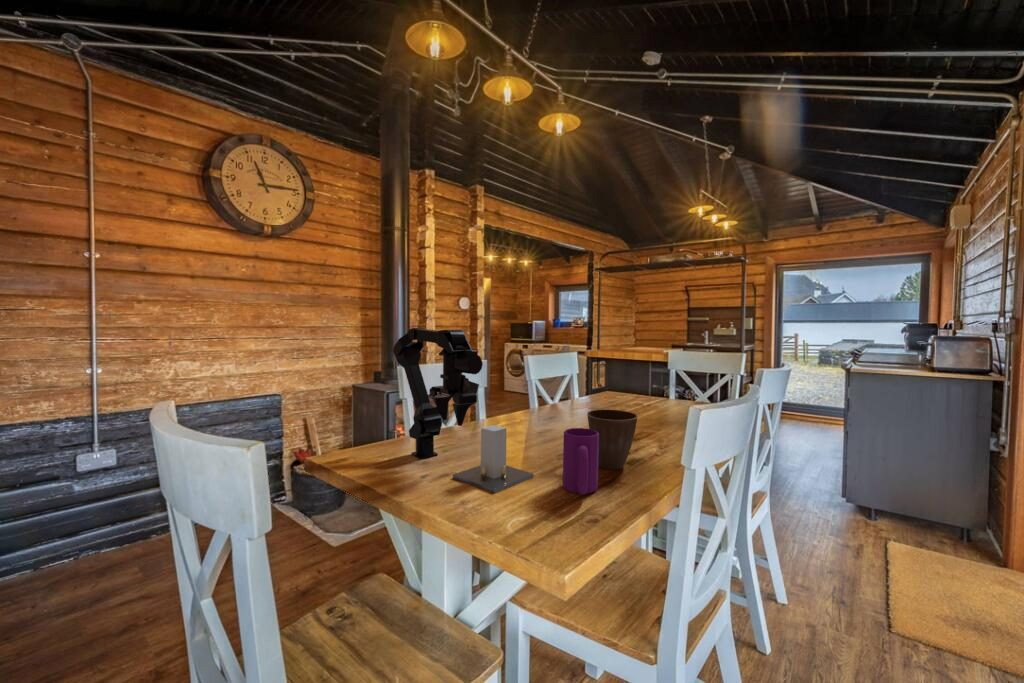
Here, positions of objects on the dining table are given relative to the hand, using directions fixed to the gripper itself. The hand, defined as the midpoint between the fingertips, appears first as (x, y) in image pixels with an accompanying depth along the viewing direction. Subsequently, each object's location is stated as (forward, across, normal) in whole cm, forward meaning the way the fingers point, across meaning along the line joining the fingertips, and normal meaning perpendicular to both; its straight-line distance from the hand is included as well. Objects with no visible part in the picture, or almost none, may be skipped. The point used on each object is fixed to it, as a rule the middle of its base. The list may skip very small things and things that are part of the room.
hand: (452, 422), depth 131 cm
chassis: (+13, -16, -4) cm, 21 cm away
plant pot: (+13, -29, -39) cm, 50 cm away
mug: (+13, -38, -16) cm, 43 cm away
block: (+12, -16, -4) cm, 20 cm away
